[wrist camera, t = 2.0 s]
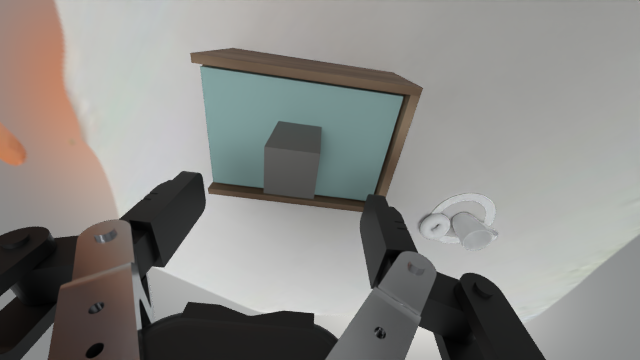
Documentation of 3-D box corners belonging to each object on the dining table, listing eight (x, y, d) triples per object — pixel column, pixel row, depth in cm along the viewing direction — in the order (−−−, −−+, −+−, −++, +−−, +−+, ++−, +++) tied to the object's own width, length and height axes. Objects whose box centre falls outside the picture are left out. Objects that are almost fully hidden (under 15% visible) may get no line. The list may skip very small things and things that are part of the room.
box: (232, 48, 20) (190, 53, 14) (393, 72, 21) (423, 88, 15) (237, 154, 25) (208, 193, 19) (366, 171, 26) (379, 214, 20)
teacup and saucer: (408, 230, 31) (419, 254, 27) (444, 181, 27) (461, 202, 24) (466, 246, 32) (483, 271, 29) (507, 201, 28) (533, 224, 25)
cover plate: (205, 65, 15) (155, 77, 11) (400, 94, 16) (429, 116, 12) (217, 177, 20) (184, 218, 15) (369, 195, 20) (382, 241, 16)
